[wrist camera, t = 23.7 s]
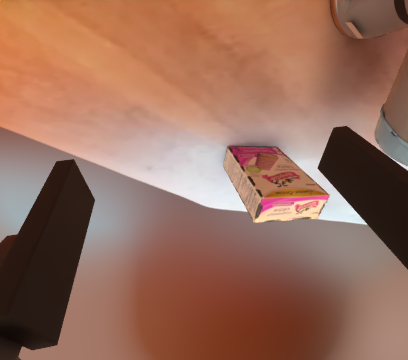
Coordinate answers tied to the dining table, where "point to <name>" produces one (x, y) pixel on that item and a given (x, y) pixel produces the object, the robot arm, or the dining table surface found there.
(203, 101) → the dining table surface
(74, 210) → the robot arm
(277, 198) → the candy bar box
